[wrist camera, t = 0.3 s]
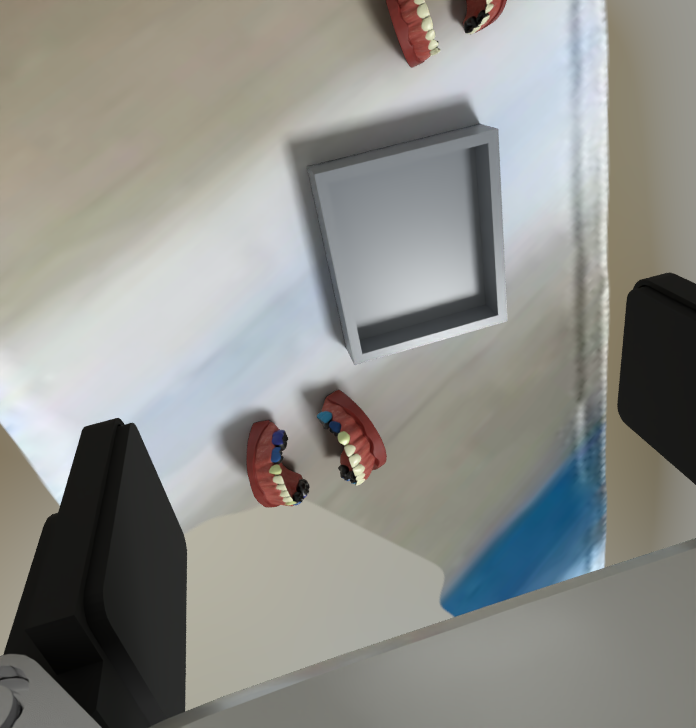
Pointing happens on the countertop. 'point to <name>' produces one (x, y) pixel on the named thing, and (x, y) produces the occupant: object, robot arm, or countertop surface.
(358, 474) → the teeth model
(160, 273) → the countertop surface
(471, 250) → the tray
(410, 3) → the denture
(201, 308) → the countertop surface
